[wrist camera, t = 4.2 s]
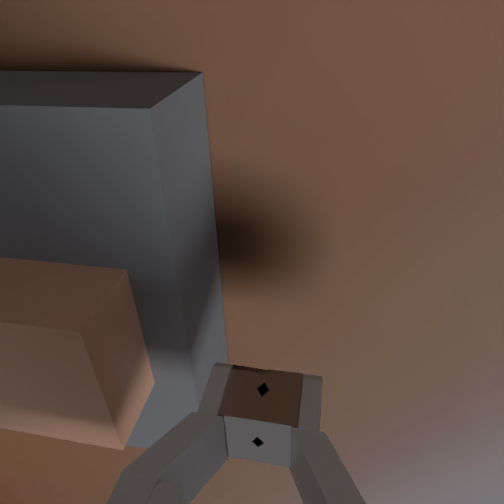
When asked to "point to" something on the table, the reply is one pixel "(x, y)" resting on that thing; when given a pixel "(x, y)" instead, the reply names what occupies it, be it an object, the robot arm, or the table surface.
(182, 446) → the robot arm
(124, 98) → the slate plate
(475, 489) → the table surface
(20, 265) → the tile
